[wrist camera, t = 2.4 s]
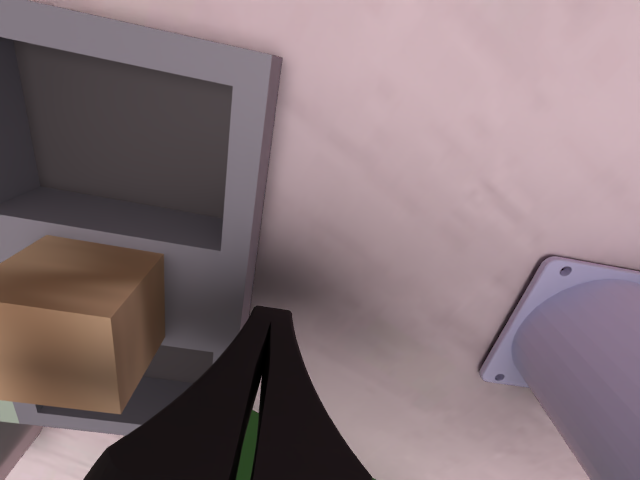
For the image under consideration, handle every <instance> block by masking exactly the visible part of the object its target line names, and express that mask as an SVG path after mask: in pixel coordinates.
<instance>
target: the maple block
mask: <svg viewBox="0 0 640 480" xmlns="http://www.w3.org/2000/svg"><path fill="white" fill-rule="evenodd" d="M164 338H165V290H164V254H161V253H155V252H149V251H143V250H137V249H131V248H125V247H118V246H112V245H106V244H100V243H94V242H88V241H82V240H75V239H69V238H63V237H57V236H51V235H46V236H44V237H42V238H41V239H39V240H37V241H36V242H34V243H33V244H31V245H29V246H28V247H26V248H24V249H23V250H21V251H19V252H18V253H16V254H15V255H13V256H11V257H10V258H8V259H6V260H5V261H3V262H1V263H0V400H3V401H11V402H20V403H28V404H37V405H45V406H54V407H62V408H71V409H79V410H87V411H96V412H104V413H113V414H121V413H122V412H123V410H124V408H125V406H126V405H127V403H128V401H129V399H130V398H131V396H132V394H133V392H134V391H135V389H136V387H137V385H138V384H139V382H140V380H141V378H142V377H143V375H144V373H145V371H146V370H147V368H148V366H149V364H150V363H151V361H152V359H153V357H154V356H155V354H156V352H157V350H158V349H159V347H160V345H161V343H162V342H163V340H164Z"/></svg>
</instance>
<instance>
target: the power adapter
mask: <svg viewBox="0 0 640 480" xmlns="http://www.w3.org/2000/svg"><path fill="white" fill-rule="evenodd" d="M42 428H43V426H37V425H28V424H19V423H10V422H1V421H0V480H4V479H5V478H6V477H7V476H8V474H9V473H10V472H11V470H12V469H13V468H14V466H15V465H16V464H17V462H18V461H19V460H20V458H21V457H22V456H23V455H24V453H25V452H26V451H27V449H28V448H29V447H30V445H31V444H32V443H33V441H34V440H35V439H36V437H37V436H38V435H39V434H40V432H41V430H42Z"/></svg>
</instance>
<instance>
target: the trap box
mask: <svg viewBox="0 0 640 480" xmlns="http://www.w3.org/2000/svg"><path fill="white" fill-rule="evenodd" d="M281 65H282V58H281V57H278V56H275V55H271V54H266V53H262V52H257V51H253V50H248V49H244V48H239V47H235V46H230V45H226V44H221V43H217V42H212V41H208V40H204V39H199V38H195V37H190V36H186V35H181V34H177V33H172V32H168V31H163V30H159V29H154V28H150V27H145V26H141V25H136V24H132V23H127V22H123V21H118V20H114V19H109V18H105V17H100V16H96V15H91V14H87V13H82V12H78V11H73V10H69V9H64V8H60V7H55V6H51V5H46V4H42V3H37V2H33V1H28V0H0V263H1V262H3V261H5V260H6V259H8V258H10V257H11V256H13V255H15V254H16V253H18V252H19V251H21V250H23V249H24V248H26V247H28V246H29V245H31V244H33V243H34V242H36V241H37V240H39V239H41V238H42V237H44V236H46V235H51V236H57V237H63V238H69V239H75V240H82V241H88V242H94V243H100V244H106V245H112V246H118V247H125V248H131V249H137V250H143V251H149V252H155V253H161V254H164V290H165V338H164V340H163V342H162V343H161V345H160V347H159V349H158V350H157V352H156V354H155V356H154V357H153V359H152V361H151V363H150V364H149V366H148V368H147V370H146V371H145V373H144V375H143V377H142V378H141V380H140V382H139V384H138V385H137V387H136V389H135V391H134V392H133V394H132V396H131V398H130V399H129V401H128V403H127V405H126V406H125V408H124V410H123V412H122V413H121V414H113V413H104V412H96V411H87V410H79V409H71V408H62V407H54V406H45V405H37V404H28V403H20V402H11V401H3V400H0V421H1V422H10V423H19V424H28V425H37V426H45V427H54V428H63V429H72V430H81V431H90V432H99V433H108V434H117V435H125V436H126V435H127V434H129V433H130V432H132V431H133V430H135V429H136V428H138V427H139V426H141V425H142V424H144V423H145V422H146V421H148V420H149V419H150V418H152V417H153V416H154V415H156V414H157V413H158V412H160V411H161V410H162V409H164V408H165V407H166V406H167V405H169V404H170V403H171V402H173V401H174V400H175V399H176V398H177V397H179V396H180V395H181V394H182V393H183V392H184V391H185V390H187V389H188V388H189V387H190V386H191V385H192V384H193V383H194V382H195V381H196V380H198V379H199V378H200V377H201V376H202V375H203V374H204V373H205V372H206V371H207V370H208V369H209V368H210V367H211V365H212V364H213V363H214V362H215V361H216V360H217V359H218V358H219V357H220V355H221V354H222V353H223V352H224V351H225V350H226V348H227V347H228V346H229V345H230V344H231V342H232V341H233V340H234V338H235V337H236V336H237V334H238V333H239V332H240V330H241V329H242V327H243V326H244V324H245V323H246V321H247V320H248V318H249V313H250V305H251V297H252V289H253V282H254V274H255V266H256V258H257V251H258V243H259V235H260V227H261V220H262V212H263V204H264V196H265V189H266V181H267V173H268V166H269V158H270V150H271V142H272V135H273V127H274V119H275V111H276V104H277V96H278V88H279V80H280V73H281Z"/></svg>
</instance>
